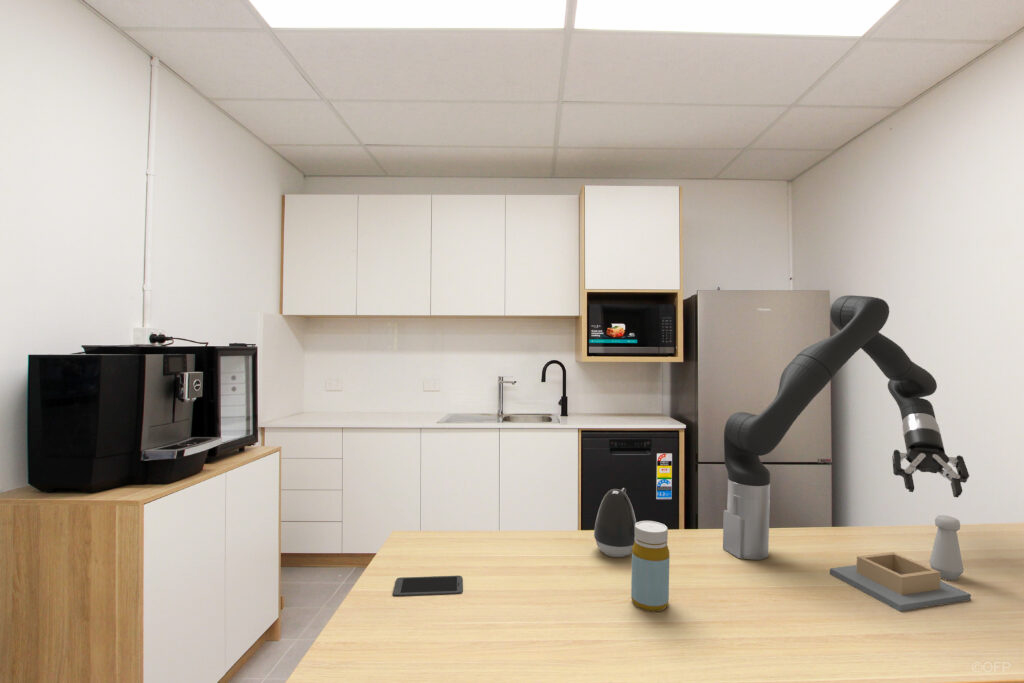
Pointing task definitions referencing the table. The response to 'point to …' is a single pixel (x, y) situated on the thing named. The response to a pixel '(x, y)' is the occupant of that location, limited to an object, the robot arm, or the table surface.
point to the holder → (899, 581)
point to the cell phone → (428, 586)
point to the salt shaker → (947, 548)
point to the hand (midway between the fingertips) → (934, 493)
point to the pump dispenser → (615, 524)
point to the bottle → (650, 566)
